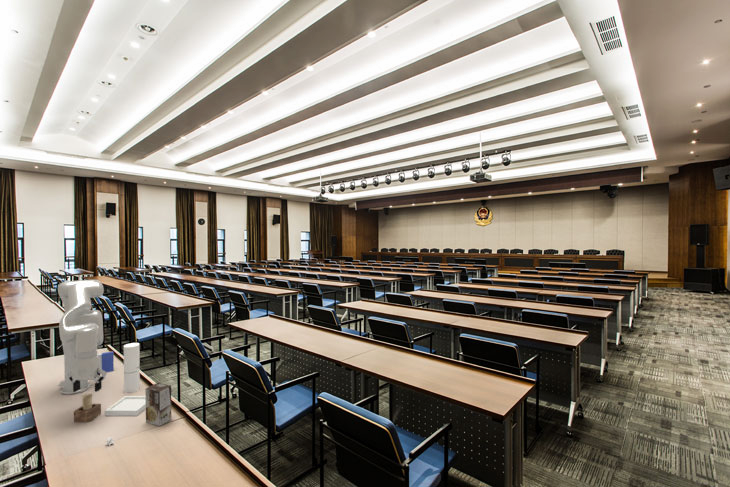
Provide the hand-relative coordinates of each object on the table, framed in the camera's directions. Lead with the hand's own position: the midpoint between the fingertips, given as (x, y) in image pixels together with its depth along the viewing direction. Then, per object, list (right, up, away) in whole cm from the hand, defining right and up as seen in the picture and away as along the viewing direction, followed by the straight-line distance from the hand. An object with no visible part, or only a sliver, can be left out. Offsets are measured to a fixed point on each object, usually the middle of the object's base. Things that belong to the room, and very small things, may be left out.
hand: (87, 390), depth 156 cm
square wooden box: (-1, -13, +1) cm, 13 cm away
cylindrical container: (+1, -12, +29) cm, 31 cm away
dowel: (-1, -13, +1) cm, 13 cm away
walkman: (-31, -11, +51) cm, 61 cm away
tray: (+13, -13, +10) cm, 21 cm away
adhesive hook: (+25, -15, -19) cm, 35 cm away
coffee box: (+33, -14, 0) cm, 36 cm away
